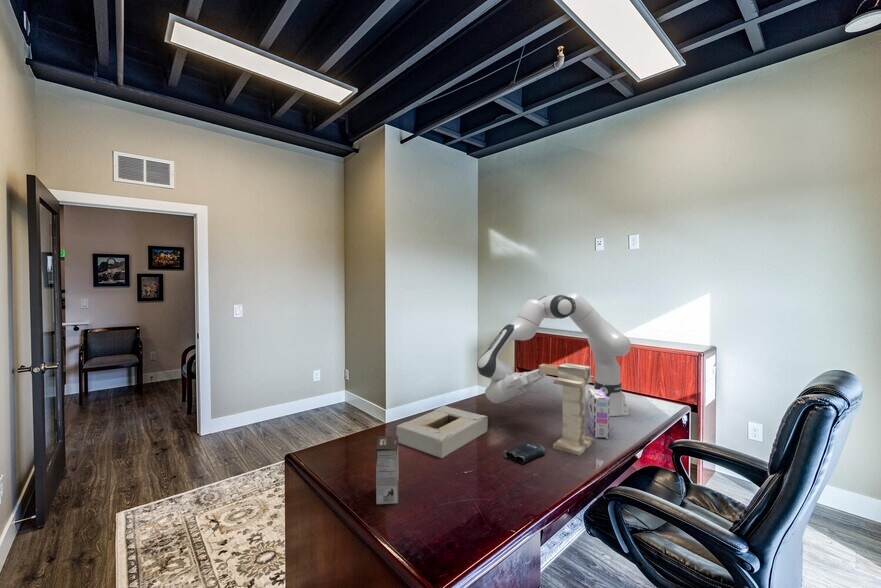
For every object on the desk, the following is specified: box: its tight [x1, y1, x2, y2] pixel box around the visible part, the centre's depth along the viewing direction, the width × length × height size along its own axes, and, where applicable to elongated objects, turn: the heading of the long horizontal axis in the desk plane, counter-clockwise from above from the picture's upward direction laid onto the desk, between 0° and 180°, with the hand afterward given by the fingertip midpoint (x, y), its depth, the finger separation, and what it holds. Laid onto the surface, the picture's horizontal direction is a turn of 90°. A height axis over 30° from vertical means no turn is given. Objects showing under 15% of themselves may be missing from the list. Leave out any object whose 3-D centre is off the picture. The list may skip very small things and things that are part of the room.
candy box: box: [587, 388, 610, 440], centre depth 160 cm, size 14×6×16 cm, turn 168°
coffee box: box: [375, 435, 400, 505], centre depth 113 cm, size 9×6×16 cm
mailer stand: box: [552, 362, 595, 456], centre depth 147 cm, size 15×10×30 cm, turn 140°
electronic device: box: [503, 441, 546, 465], centre depth 139 cm, size 9×6×15 cm
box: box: [395, 405, 489, 459], centre depth 156 cm, size 23×8×32 cm
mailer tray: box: [538, 363, 588, 379], centre depth 150 cm, size 4×18×3 cm, turn 50°
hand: (543, 371), depth 155 cm, fingers open, 8 cm apart
